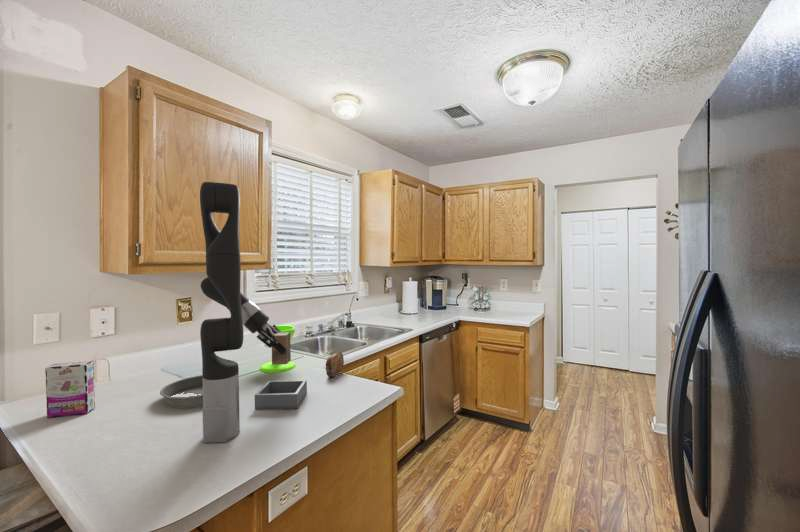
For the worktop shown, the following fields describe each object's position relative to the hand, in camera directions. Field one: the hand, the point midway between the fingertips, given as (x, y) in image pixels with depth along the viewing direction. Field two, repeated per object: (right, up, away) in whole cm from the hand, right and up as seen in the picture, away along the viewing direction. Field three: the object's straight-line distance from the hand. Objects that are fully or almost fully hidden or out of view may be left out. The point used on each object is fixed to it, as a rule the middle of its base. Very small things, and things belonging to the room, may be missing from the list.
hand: (286, 350), depth 127 cm
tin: (+11, -18, +31) cm, 37 cm away
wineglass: (-17, -18, +41) cm, 48 cm away
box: (-2, -18, 0) cm, 18 cm away
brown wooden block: (-2, -4, 0) cm, 5 cm away
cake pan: (-34, -19, +6) cm, 39 cm away
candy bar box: (-68, -19, -8) cm, 71 cm away
